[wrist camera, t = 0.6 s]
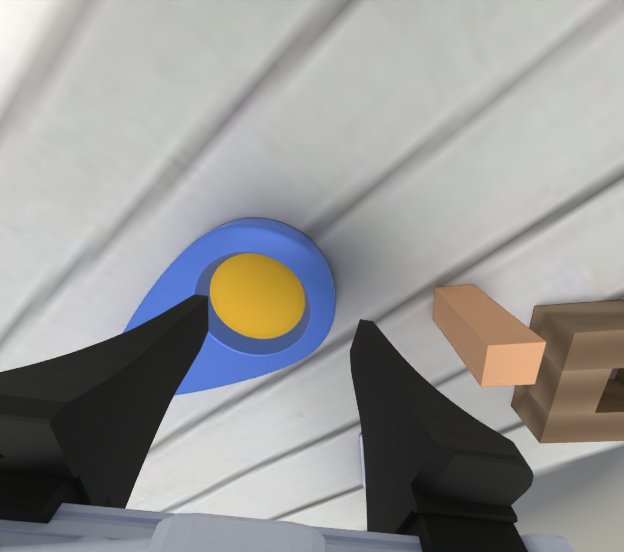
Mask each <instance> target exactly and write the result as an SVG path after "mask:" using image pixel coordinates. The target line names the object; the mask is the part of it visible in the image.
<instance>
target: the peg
mask: <svg viewBox="0 0 624 552" xmlns="http://www.w3.org/2000/svg"><path fill="white" fill-rule="evenodd" d="M433 320H434V321H435V323H436V324H437V326H438V327H439V328H440V330H441V331H442V333H443V334H444V335H445V337H446V338H447V340H448V341H449V343H450V344H451V345H452V347H453V348H454V350H455V351H456V352H457V354H458V355H459V357H460V358H461V359H462V361H463V362H464V364H465V365H466V366H467V368H468V369H469V371H470V372H471V374H472V375H473V376H474V378H475V379H476V381H477V382H478V383H479V385H480V386H481V387H489V386H509V385H529V384H535V382H536V378H537V374H538V371H539V367H540V363H541V360H542V356H543V352H544V349H545V345H546V341H545V340H543V339H542V338H541V337H539V336H538V335H537V334H536V333H534V332H533V331H532V330H531V329H529V328H528V327H527V326H526V325H524V324H523V323H522V322H520V321H519V320H518V319H517V318H515V317H514V316H513V315H512V314H510V313H509V312H508V311H507V310H505V309H504V308H503V307H501V306H500V305H499V304H498V303H496V302H495V301H494V300H493V299H491V298H490V297H489V296H488V295H486V294H485V293H484V292H483V291H481V290H480V289H479V288H477V287H476V286H475V285H474V284H473V285H460V286H448V287H436V288H435V296H434V310H433Z"/></svg>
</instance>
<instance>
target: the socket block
mask: <svg viewBox="0 0 624 552" xmlns="http://www.w3.org/2000/svg"><path fill="white" fill-rule="evenodd" d="M529 329H531V330H532V331H533V332H534V333H536V334H537V335H538V336H539V337H541V338H542V339H543V340H545V341H546V345H545V349H544V352H543V356H542V360H541V363H540V367H539V371H538V374H537V378H536V382H535V384H529V385H516V388H515V392H514V396H513V400H512V405H511V407H512V408H513V409H514V411H515V412H516V413H517V414H518V416H519V417H520V418H521V420H522V421H523V422H524V423H525V425H526V426H527V427H528V429H529V430H530V431H531V432H532V434H533V435H534V436H535V438H536V439H537V440H538V442H539V443H567V442H600V441H624V300H613V301H599V302H585V303H572V304H558V305H544V306H535V307H534V311H533V316H532V320H531V324H530V328H529Z"/></svg>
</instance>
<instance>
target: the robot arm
mask: <svg viewBox="0 0 624 552" xmlns="http://www.w3.org/2000/svg"><path fill="white" fill-rule="evenodd" d="M208 331H209V322H208V296H204V295H198V294H194V295H192V296H191V297H189V298H187V299H185V300H184V301H182V302H180V303H179V304H177V305H175V306H174V307H172V308H170V309H169V310H167V311H165V312H163V313H162V314H160V315H158V316H156V317H154V318H152V319H151V320H149V321H147V322H145V323H143V324H141V325H139V326H137V327H135V328H133V329H131V330H129V331H127V332H124V333H122V334H120V335H118V336H115V337H113V338H111V339H108V340H106V341H103V342H100V343H98V344H95V345H92V346H89V347H87V348H84V349H81V350H78V351H75V352H72V353H69V354H66V355H63V356H60V357H57V358H53V359H50V360H46V361H43V362H39V363H36V364H32V365H28V366H24V367H20V368H16V369H12V370H8V371H4V372H0V552H574V550H573V548H572V547H571V545H570V544H569V542H568V540H567V539H566V538H564V537H561V536H551V535H541V534H525V535H521V536H520V535H519V534H518V531H517V529H516V527H515V526H514V523H516V522H517V521H518V520H517V516H516V514H515V512H514V510H513V508H512V507H511V505H512V504H513V503H514V502H515V501H516V500H517V499H518V498H519V497H520V496H522V495H523V494H524V493H525V492H526V491H527V490H528V489H529V487H530V486H531V484H532V481H533V477H534V476H533V472H532V470H531V468H530V467H529V465H528V464H527V462H526V461H525V459H524V458H523V456H522V455H521V453H520V452H519V450H518V449H517V447H516V446H515V444H514V443H513V442H512V441H511V440H509V439H507V438H506V437H504V436H502V435H501V434H499V433H498V432H496V431H494V430H493V429H491V428H489V427H488V426H486V425H485V424H483V423H481V422H480V421H478V420H477V419H475V418H474V417H473V416H471V415H470V414H468V413H467V412H465V411H464V410H462V409H461V408H460V407H458V406H457V405H456V404H454V403H453V402H452V401H450V400H449V399H448V398H447V397H445V396H444V395H443V394H442V393H440V392H439V391H438V390H437V389H435V388H434V387H433V386H432V385H431V384H430V383H429V382H428V381H426V380H425V379H424V378H423V377H422V376H421V375H420V374H419V373H418V372H417V371H416V370H415V369H414V368H413V367H412V366H411V365H410V364H409V363H408V362H407V361H406V360H405V359H404V358H403V357H402V356H401V355H400V353H399V352H398V351H397V350H396V349H395V348H394V346H393V345H392V344H391V343H390V342H389V341H388V339H387V338H386V337H385V336H384V334H383V333H382V332H381V331H380V329H379V328H378V327H377V326H376V325H375V323H374V322H373V321H368V320H361V319H360V322H359V325H358V328H357V331H356V334H355V337H354V340H353V343H352V346H351V349H350V363H351V373H352V379H353V384H354V389H355V395H356V400H357V405H358V410H359V415H360V422H361V430H362V434H360V436H359V439H360V453H361V468H362V483H363V486H364V487H365V488H366V503H367V532H366V531H356V530H345V529H334V528H324V527H313V526H308V525H303V524H299V523H294V522H287V521H276V520H266V519H255V518H244V517H234V516H223V515H213V514H202V513H182V514H174V513H164V512H153V511H142V510H132V509H125V508H126V505H127V503H128V500H129V498H130V495H131V492H132V490H133V487H134V485H135V482H136V480H137V477H138V475H139V472H140V470H141V468H142V465H143V463H144V460H145V458H146V456H147V453H148V451H149V448H150V446H151V444H152V442H153V439H154V437H155V435H156V433H157V430H158V428H159V426H160V424H161V421H162V419H163V417H164V415H165V413H166V411H167V408H168V406H169V404H170V402H171V400H172V398H173V396H174V395H175V393H176V391H177V389H178V388H179V386H180V384H181V382H182V381H183V379H184V377H185V376H186V374H187V372H188V371H189V369H190V367H191V366H192V364H193V362H194V360H195V359H196V357H197V355H198V354H199V352H200V350H201V348H202V345H203V343H204V341H205V338H206V336H207V333H208Z"/></svg>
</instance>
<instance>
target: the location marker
mask: <svg viewBox="0 0 624 552" xmlns="http://www.w3.org/2000/svg"><path fill="white" fill-rule="evenodd" d="M194 294H198V295H204V296H208V322H209V331H208V333H207V336H206V338H205V341H204V343H203V345H202V348H201V350H200V352H199V354H198V355H197V357H196V359H195V360H194V362H193V364H192V366H191V367H190V369H189V371H188V372H187V374H186V376H185V377H184V379H183V381H182V382H181V384H180V386H179V388H178V389H177V391H176V393H175V395H180V394H186V393H192V392H197V391H202V390H207V389H212V388H216V387H221V386H225V385H229V384H233V383H237V382H241V381H245V380H248V379H252V378H256V377H259V376H262V375H265V374H268V373H271V372H274V371H276V370H279V369H282V368H284V367H287V366H289V365H291V364H294V363H296V362H298V361H300V360H302V359H303V358H305V357H307V356H308V355H310V354H311V353H312V352H314V351H315V350H316V349H317V348H318V347H319V346H320V345H321V344H322V342H323V341H324V340H325V338H326V337H327V335H328V333H329V331H330V329H331V326H332V323H333V320H334V315H335V285H334V279H333V275H332V272H331V269H330V267H329V264H328V262H327V261H326V259H325V257H324V256H323V254H322V253H321V251H320V250H319V249H318V248H317V246H316V245H315V244H314V243H313V242H312V241H311V240H310V239H308V238H307V237H306V236H305V235H303V234H302V233H301V232H299V231H297V230H296V229H294V228H292V227H290V226H288V225H286V224H283V223H280V222H277V221H273V220H269V219H262V218H245V219H239V220H234V221H231V222H228V223H225V224H223V225H221V226H219V227H217V228H216V229H214V230H212V231H210V232H208V233H207V234H205V235H203V236H202V237H200V238H199V239H197V240H196V241H195V242H194V243H192V244H191V245H190V246H189V247H188V248H187V249H186V250H185V251H184V252H182V253H181V254H180V255H179V257H178V258H177V259H176V260H175V261H174V262H173V263H172V264H171V265H170V266H169V267H168V268H167V270H166V271H165V272H164V273H163V274H162V275H161V277H160V278H159V279H158V280H157V282H156V283H155V284H154V286H153V287H152V288H151V290H150V291H149V292H148V294H147V295H146V296H145V298H144V299H143V301H142V302H141V304H140V305H139V307H138V309H137V310H136V312H135V313H134V315H133V316H132V318H131V320H130V321H129V323H128V325H127V327H126V328H125V330H124V332H127V331H129V330H131V329H133V328H135V327H137V326H139V325H141V324H143V323H145V322H147V321H149V320H151V319H152V318H154V317H156V316H158V315H160V314H162V313H163V312H165V311H167V310H169V309H170V308H172V307H174V306H175V305H177V304H179V303H180V302H182V301H184V300H185V299H187V298H189V297H191V296H192V295H194ZM124 332H123V333H124Z"/></svg>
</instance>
